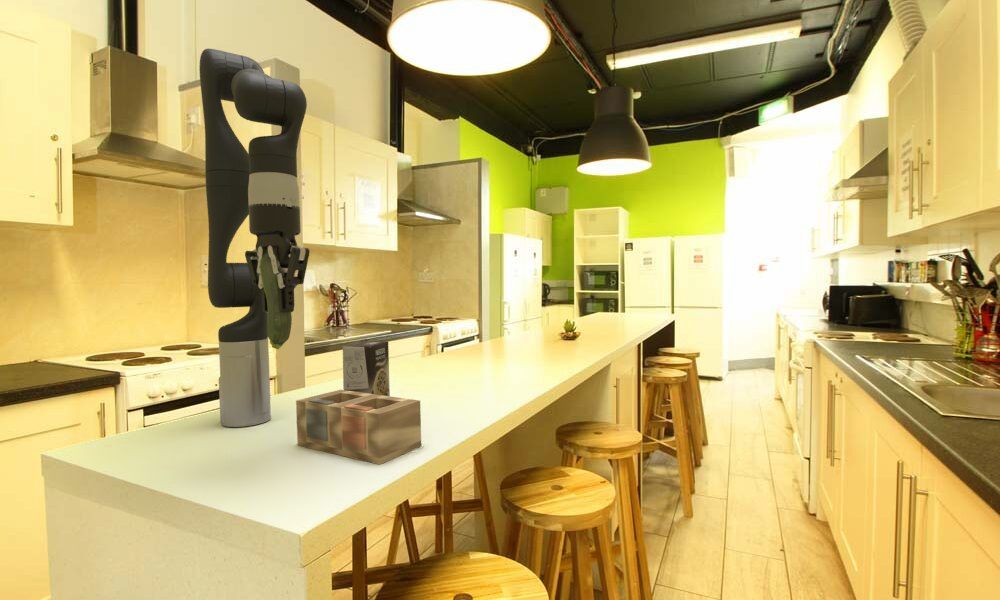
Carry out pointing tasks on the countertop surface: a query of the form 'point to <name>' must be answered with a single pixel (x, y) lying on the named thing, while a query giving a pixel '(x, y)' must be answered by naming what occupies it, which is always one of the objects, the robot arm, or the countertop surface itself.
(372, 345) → the coffee box
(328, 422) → the holder
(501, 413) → the countertop surface
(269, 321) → the vegetable
